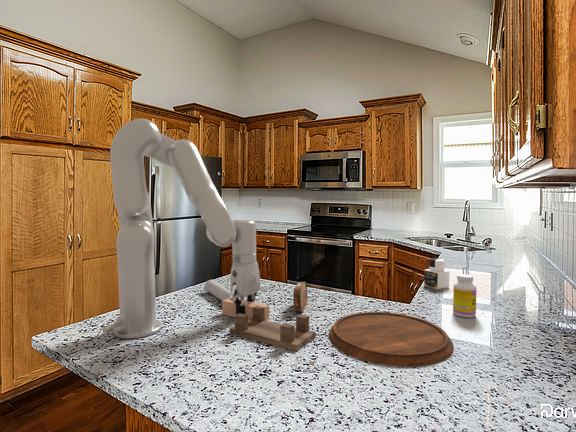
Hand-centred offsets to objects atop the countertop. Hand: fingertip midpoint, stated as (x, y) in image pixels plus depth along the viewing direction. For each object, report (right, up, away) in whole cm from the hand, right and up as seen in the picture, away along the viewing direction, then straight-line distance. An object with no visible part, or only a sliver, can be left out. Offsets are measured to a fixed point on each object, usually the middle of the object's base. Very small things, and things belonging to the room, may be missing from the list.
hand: (245, 314), depth 110 cm
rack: (+9, -1, -15) cm, 18 cm away
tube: (-11, 0, +20) cm, 23 cm away
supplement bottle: (+71, 0, +1) cm, 71 cm away
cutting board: (+41, -2, -17) cm, 44 cm away
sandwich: (+18, 0, +9) cm, 20 cm away
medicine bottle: (+77, +1, +36) cm, 85 cm away
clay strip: (0, -1, 0) cm, 1 cm away
